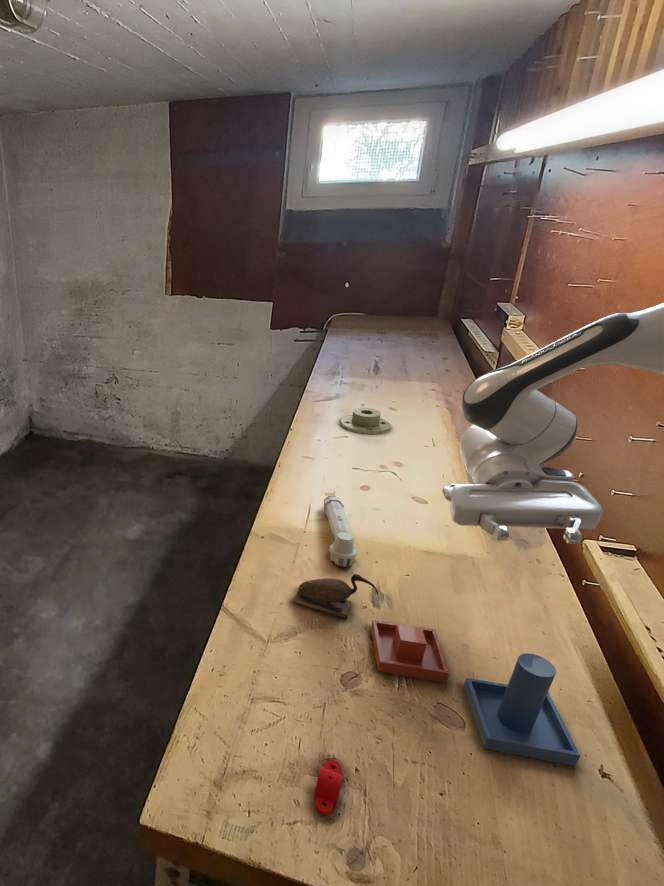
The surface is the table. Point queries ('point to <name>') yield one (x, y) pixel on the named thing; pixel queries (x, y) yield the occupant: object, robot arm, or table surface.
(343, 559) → the light grey long piece
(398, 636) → the terracotta block
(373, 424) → the flange
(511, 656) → the table surface
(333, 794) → the pipe clamp
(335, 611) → the figurine
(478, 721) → the blue tray
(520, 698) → the blue canister
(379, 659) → the terracotta tray
